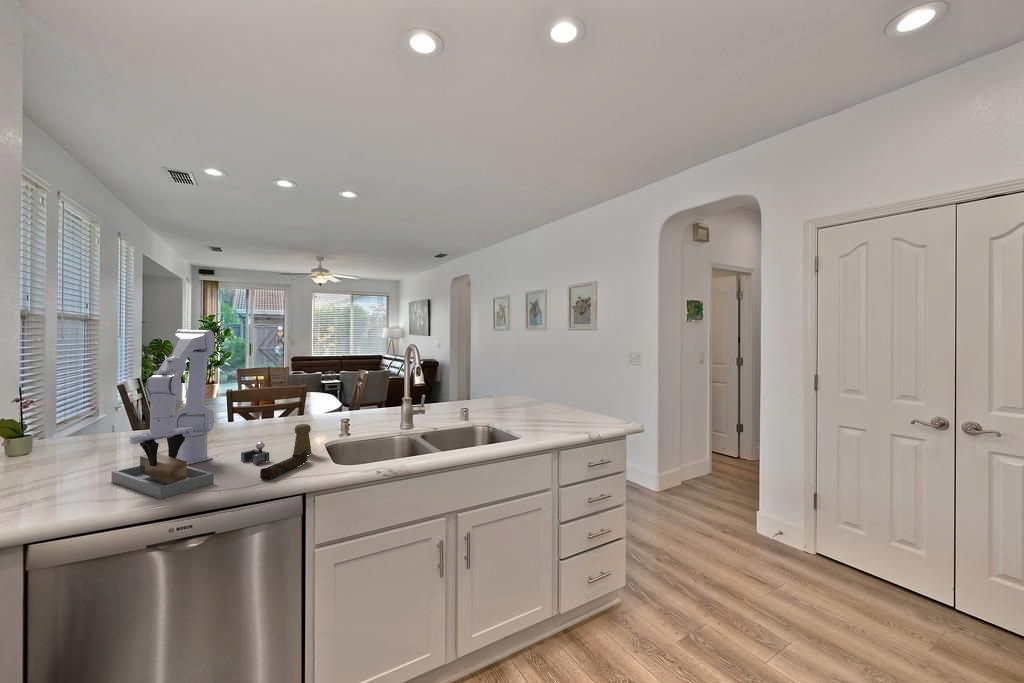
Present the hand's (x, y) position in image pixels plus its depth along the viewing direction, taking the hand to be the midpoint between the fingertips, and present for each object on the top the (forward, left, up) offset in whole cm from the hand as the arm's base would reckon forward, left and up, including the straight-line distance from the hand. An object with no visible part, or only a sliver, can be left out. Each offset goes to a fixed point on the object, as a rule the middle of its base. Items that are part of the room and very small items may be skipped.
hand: (162, 463), depth 122 cm
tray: (0, 0, -6) cm, 6 cm away
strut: (0, 0, -4) cm, 4 cm away
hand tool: (+20, +24, -6) cm, 32 cm away
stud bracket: (+3, +26, -6) cm, 26 cm away
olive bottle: (+10, +38, -6) cm, 40 cm away
